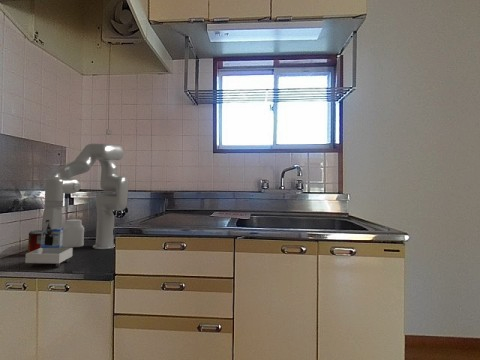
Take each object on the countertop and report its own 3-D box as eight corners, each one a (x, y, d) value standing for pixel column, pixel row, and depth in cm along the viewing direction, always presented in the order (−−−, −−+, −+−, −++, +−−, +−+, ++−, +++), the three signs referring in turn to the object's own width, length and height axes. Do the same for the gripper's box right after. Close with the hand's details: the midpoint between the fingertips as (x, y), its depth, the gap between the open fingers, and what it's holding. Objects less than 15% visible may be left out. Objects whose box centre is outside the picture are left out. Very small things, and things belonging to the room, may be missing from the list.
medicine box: (40, 248, 144) (41, 229, 144) (43, 246, 148) (44, 227, 148) (59, 248, 146) (60, 229, 146) (62, 246, 150) (63, 227, 150)
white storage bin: (41, 260, 152) (42, 247, 152) (72, 260, 154) (72, 247, 154) (24, 267, 138) (25, 253, 138) (58, 268, 140) (59, 254, 140)
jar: (60, 247, 181) (61, 221, 181) (62, 244, 190) (64, 219, 190) (83, 246, 186) (84, 221, 186) (84, 243, 195) (85, 219, 195)
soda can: (47, 254, 165) (48, 230, 165) (35, 257, 158) (36, 232, 158) (36, 252, 167) (37, 229, 167) (24, 255, 160) (25, 231, 160)
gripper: (54, 203, 155) (52, 240, 155) (35, 205, 138) (33, 247, 138) (70, 203, 156) (68, 240, 156) (53, 206, 139) (51, 247, 139)
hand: (51, 243), depth 147 cm, fingers closed on medicine box, 5 cm apart
